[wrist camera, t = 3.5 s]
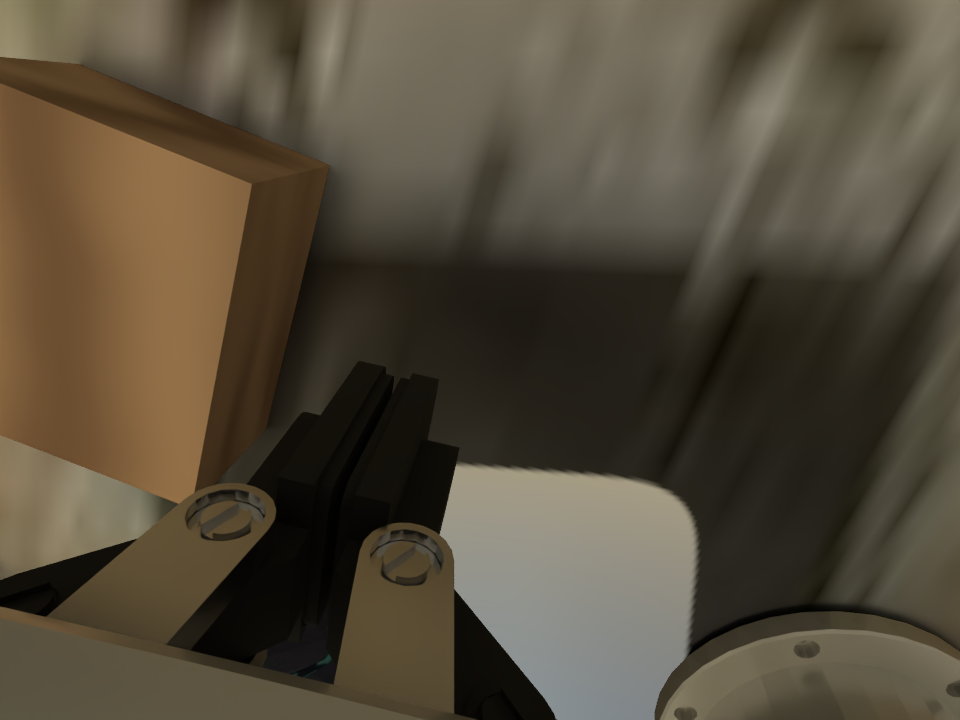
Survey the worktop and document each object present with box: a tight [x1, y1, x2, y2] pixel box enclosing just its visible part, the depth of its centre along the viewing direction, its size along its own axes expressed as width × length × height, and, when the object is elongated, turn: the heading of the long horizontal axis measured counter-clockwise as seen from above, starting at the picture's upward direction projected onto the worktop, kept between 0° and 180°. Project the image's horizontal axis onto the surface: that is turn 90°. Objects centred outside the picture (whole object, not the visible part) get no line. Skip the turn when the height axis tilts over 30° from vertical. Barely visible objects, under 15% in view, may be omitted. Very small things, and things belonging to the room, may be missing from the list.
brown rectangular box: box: [0, 57, 330, 504], centre depth 17 cm, size 8×10×5 cm
